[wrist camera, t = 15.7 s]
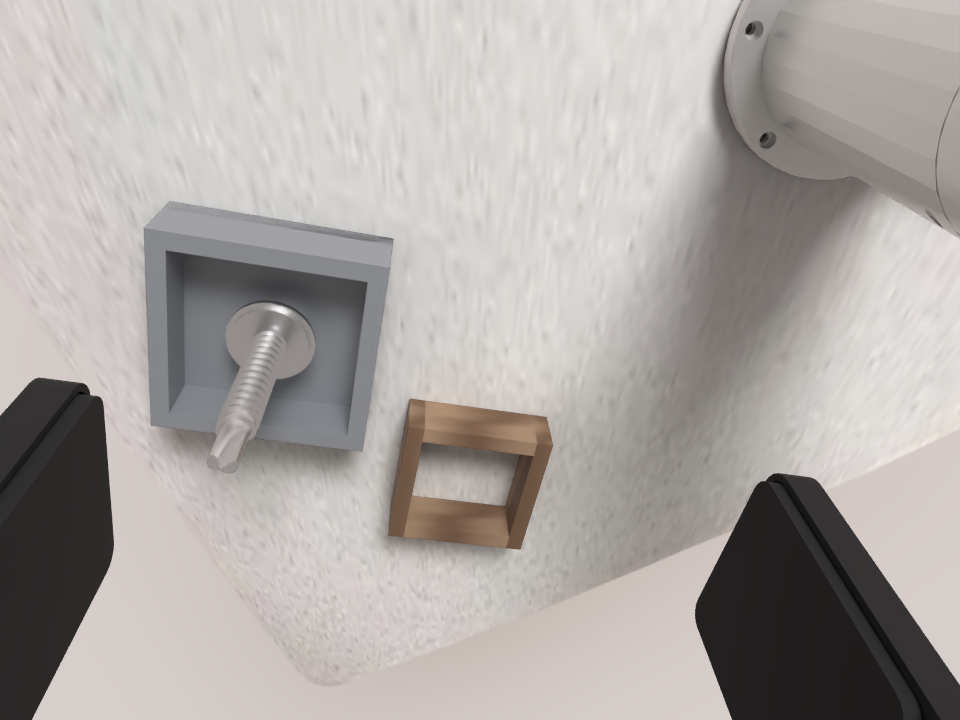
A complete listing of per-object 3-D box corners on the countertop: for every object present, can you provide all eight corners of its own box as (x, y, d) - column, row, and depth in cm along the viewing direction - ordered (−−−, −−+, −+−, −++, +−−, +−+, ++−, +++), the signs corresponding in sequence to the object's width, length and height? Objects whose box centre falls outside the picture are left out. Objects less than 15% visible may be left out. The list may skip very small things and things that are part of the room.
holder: (546, 417, 47) (553, 445, 44) (516, 518, 51) (520, 549, 49) (410, 398, 46) (408, 426, 43) (390, 504, 50) (388, 535, 48)
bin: (393, 238, 40) (389, 267, 37) (367, 412, 46) (362, 451, 43) (169, 201, 38) (143, 228, 35) (172, 387, 44) (150, 425, 41)
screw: (218, 303, 40) (295, 274, 40) (261, 370, 43) (334, 344, 42) (136, 445, 29) (241, 408, 29) (200, 526, 32) (299, 492, 31)
